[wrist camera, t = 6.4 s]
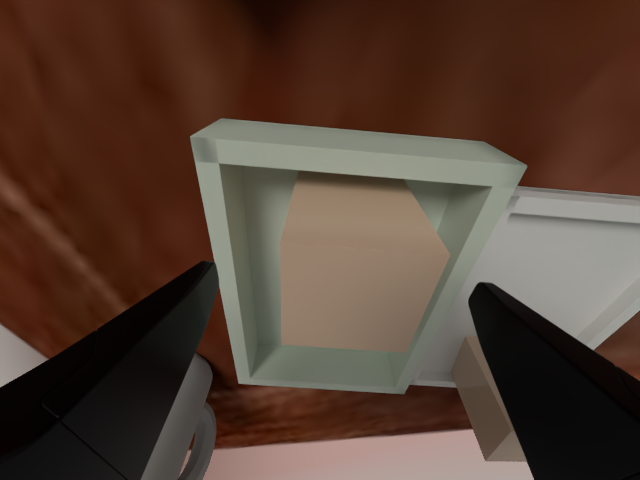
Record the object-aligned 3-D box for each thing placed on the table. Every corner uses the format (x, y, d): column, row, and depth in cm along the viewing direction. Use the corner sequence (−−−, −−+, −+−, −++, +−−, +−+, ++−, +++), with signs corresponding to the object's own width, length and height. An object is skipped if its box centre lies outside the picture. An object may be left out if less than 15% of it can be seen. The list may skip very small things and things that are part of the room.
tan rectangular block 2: (534, 335, 18) (605, 431, 13) (510, 371, 20) (563, 461, 16) (465, 336, 18) (511, 430, 13) (450, 371, 20) (485, 461, 16)
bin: (483, 141, 11) (527, 165, 9) (394, 352, 20) (404, 394, 18) (221, 118, 11) (189, 136, 8) (249, 342, 20) (238, 383, 17)
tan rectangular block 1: (402, 176, 11) (450, 255, 7) (380, 257, 14) (406, 352, 10) (298, 168, 11) (280, 242, 7) (296, 251, 14) (281, 344, 9)
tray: (716, 202, 12) (750, 215, 11) (533, 377, 22) (542, 393, 21) (487, 183, 12) (501, 194, 11) (400, 369, 21) (403, 384, 20)
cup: (161, 328, 19) (57, 497, 12) (255, 387, 24) (222, 535, 16) (107, 358, 22) (-7, 513, 14) (201, 406, 26) (152, 542, 19)
